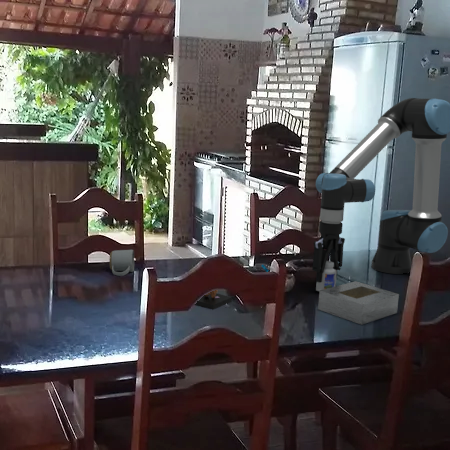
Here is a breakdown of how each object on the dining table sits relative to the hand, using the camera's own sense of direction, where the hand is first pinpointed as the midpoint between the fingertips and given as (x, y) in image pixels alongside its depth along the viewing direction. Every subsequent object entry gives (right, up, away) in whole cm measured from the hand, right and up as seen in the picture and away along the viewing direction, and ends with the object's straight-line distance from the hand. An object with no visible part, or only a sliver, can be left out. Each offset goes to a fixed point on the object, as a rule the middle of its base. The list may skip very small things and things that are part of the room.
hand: (325, 289), depth 214 cm
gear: (-18, +1, +3) cm, 18 cm away
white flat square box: (+7, -5, -19) cm, 21 cm away
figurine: (-38, -2, -17) cm, 42 cm away
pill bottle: (0, -1, 0) cm, 1 cm away
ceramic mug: (-69, +5, +11) cm, 70 cm away
